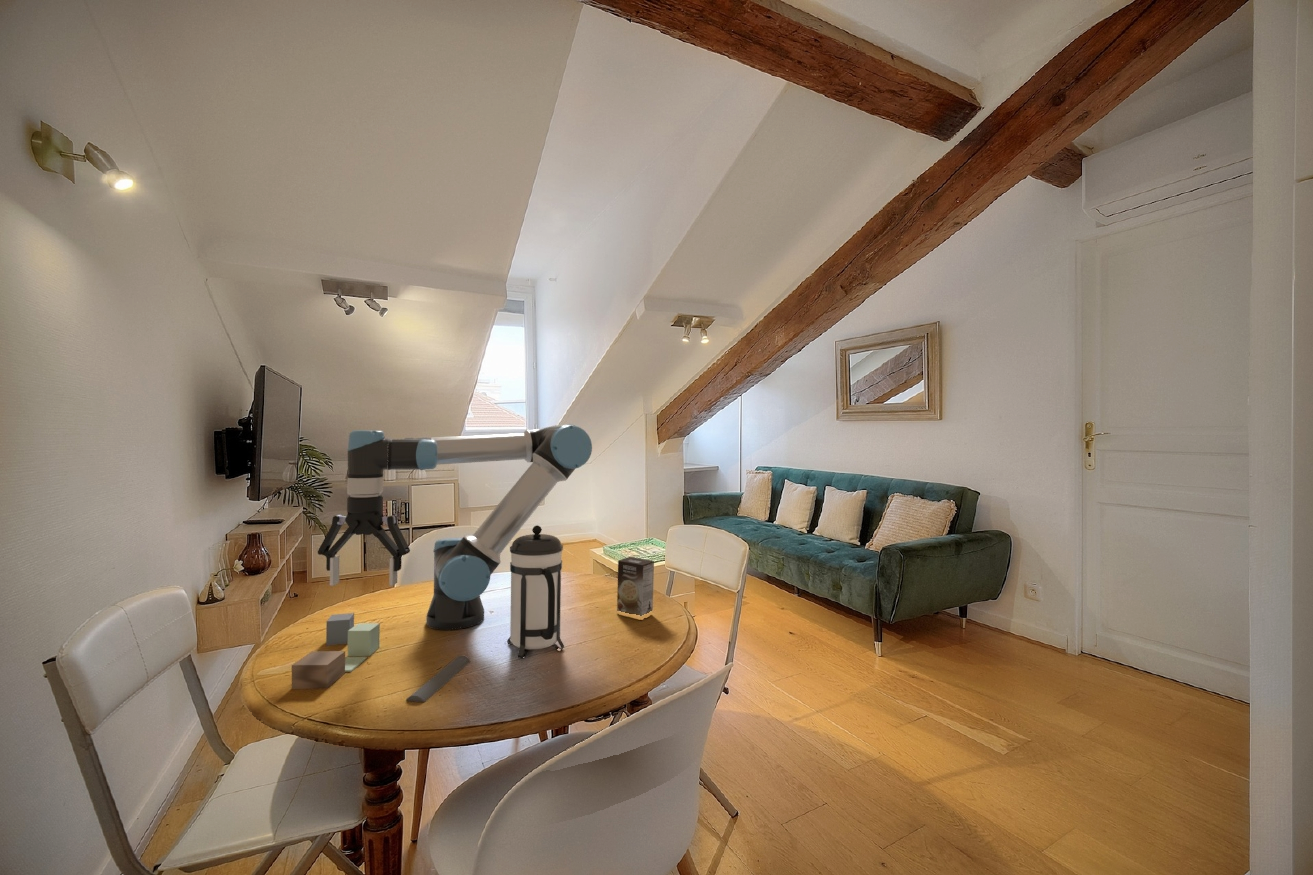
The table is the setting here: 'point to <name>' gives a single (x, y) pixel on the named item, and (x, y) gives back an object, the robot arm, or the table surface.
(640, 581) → the coffee box
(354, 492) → the robot arm
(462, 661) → the slim gray ramp strip
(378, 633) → the sage block
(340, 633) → the gray block
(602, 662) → the table surface
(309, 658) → the walnut base
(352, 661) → the tile
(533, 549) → the coffee press
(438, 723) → the table surface
